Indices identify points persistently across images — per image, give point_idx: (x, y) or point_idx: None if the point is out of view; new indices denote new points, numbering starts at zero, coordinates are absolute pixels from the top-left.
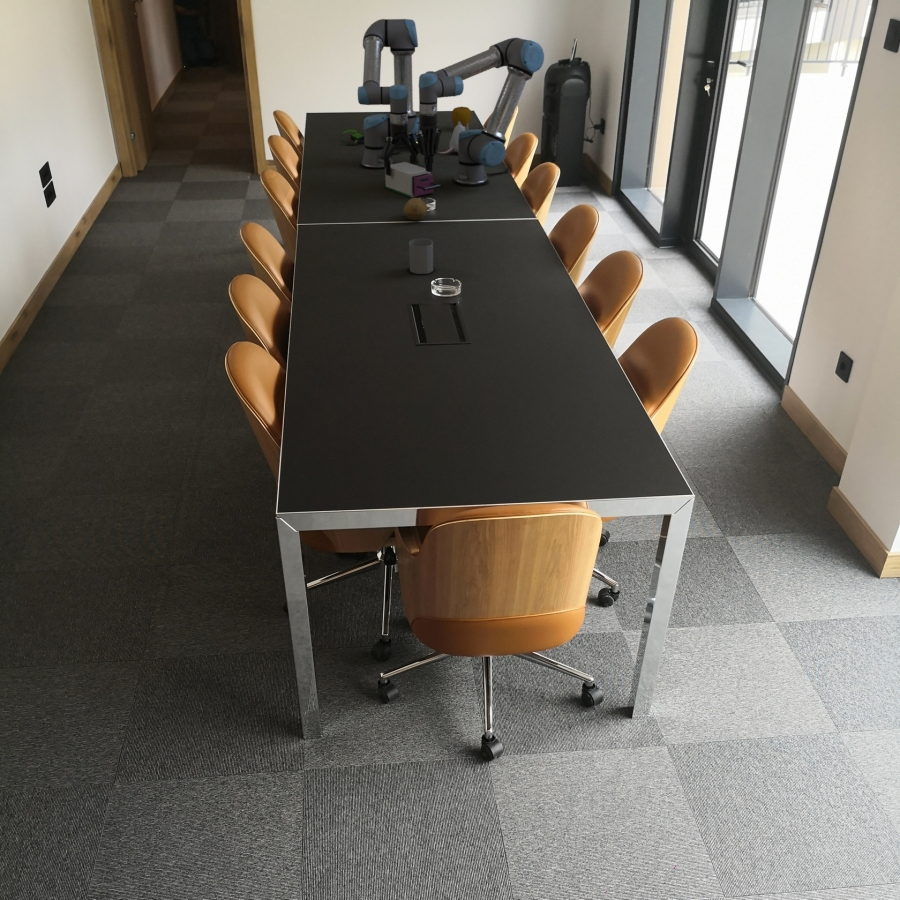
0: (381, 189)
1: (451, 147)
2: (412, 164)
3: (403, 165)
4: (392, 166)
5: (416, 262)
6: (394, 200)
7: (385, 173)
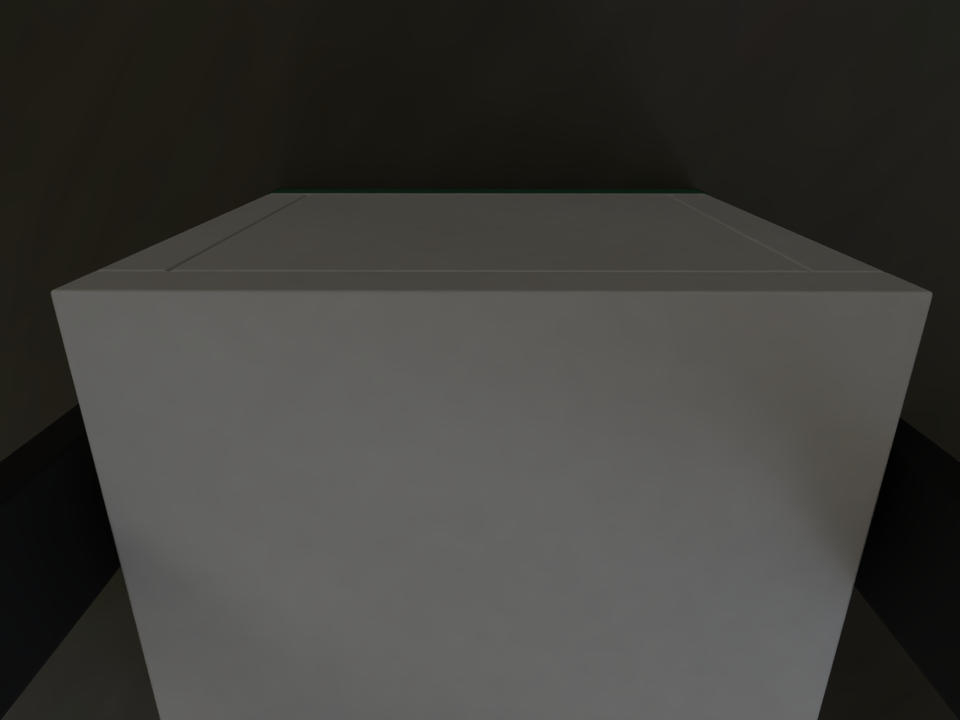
0: (185, 196)
1: None
2: (820, 645)
3: (562, 587)
4: (232, 492)
5: None
6: (119, 668)
7: (170, 243)
